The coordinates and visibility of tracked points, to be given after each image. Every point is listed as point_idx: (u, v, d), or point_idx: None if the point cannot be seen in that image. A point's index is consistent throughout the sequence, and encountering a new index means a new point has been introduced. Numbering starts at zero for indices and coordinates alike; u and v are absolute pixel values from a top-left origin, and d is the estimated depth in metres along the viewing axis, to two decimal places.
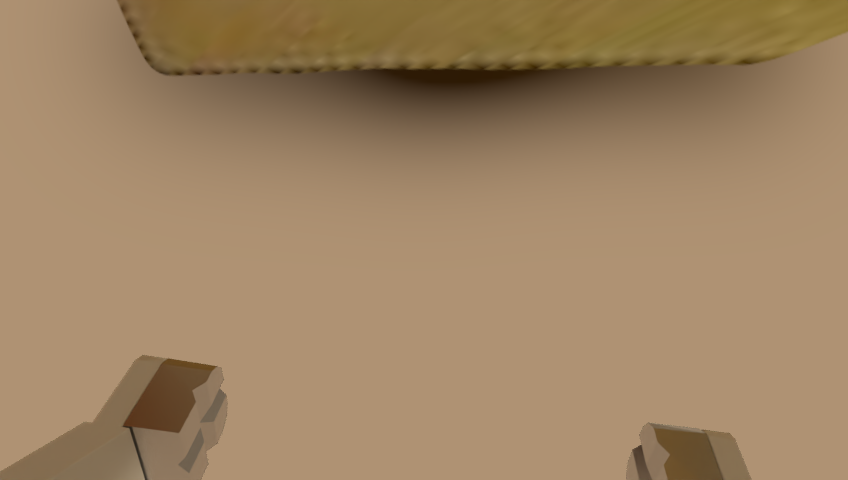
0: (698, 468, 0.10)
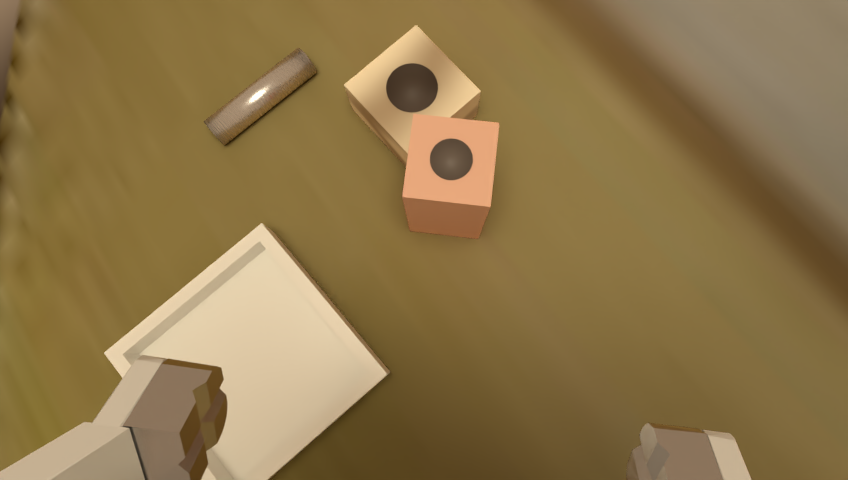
0: (698, 468, 0.10)
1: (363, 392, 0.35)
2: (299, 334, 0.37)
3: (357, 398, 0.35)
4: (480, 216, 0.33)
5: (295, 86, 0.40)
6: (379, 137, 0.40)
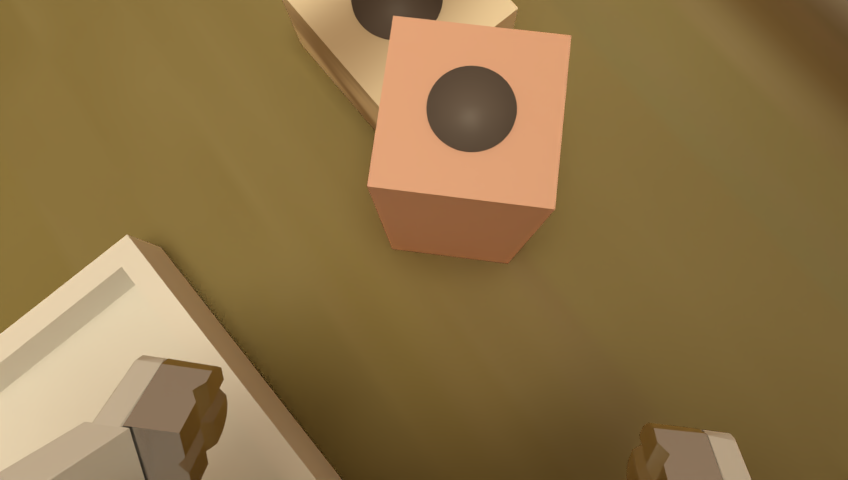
0: (698, 468, 0.10)
1: None
2: None
3: None
4: (525, 228, 0.17)
5: None
6: (342, 90, 0.24)
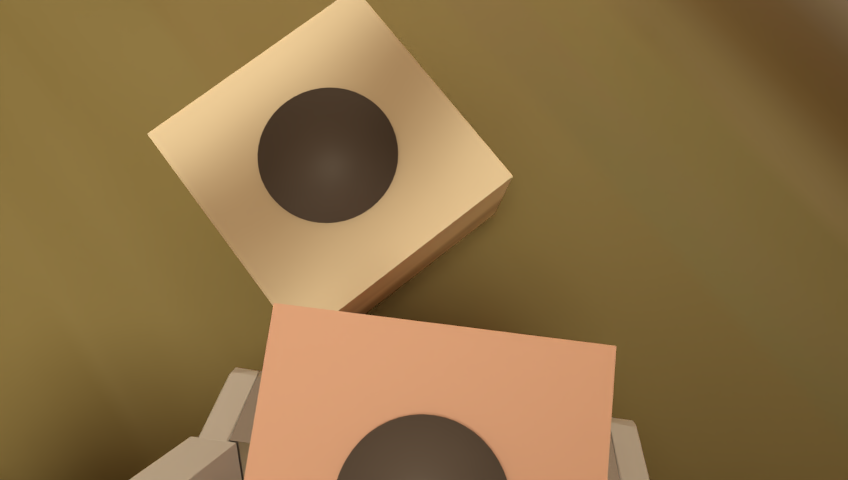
0: None
1: None
2: None
3: None
4: None
5: None
6: None
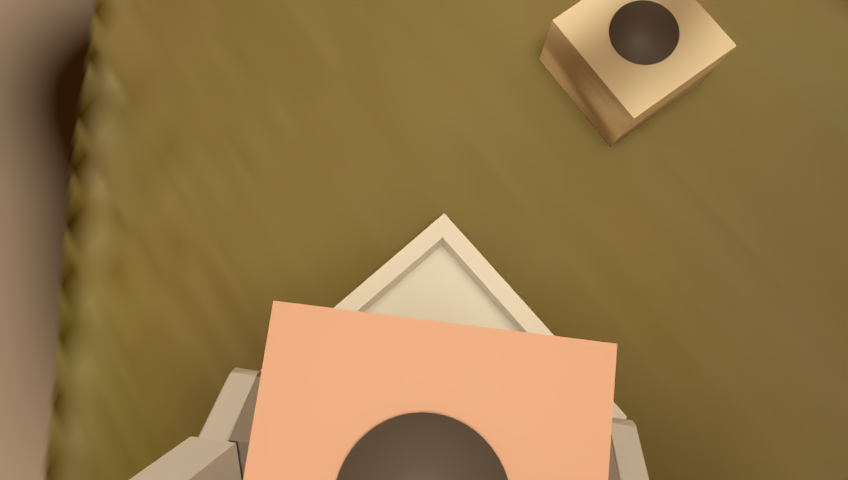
0: None
1: None
2: None
3: None
4: None
5: None
6: (573, 98, 0.31)
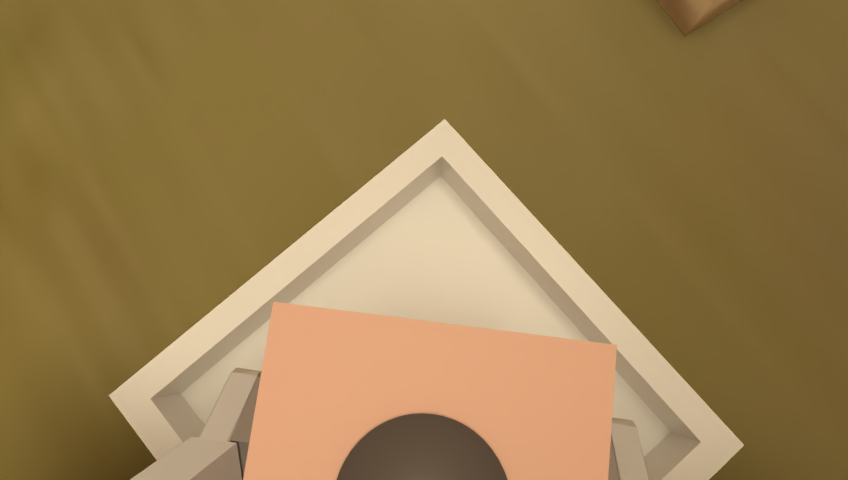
0: None
1: None
2: None
3: None
4: None
5: None
6: None
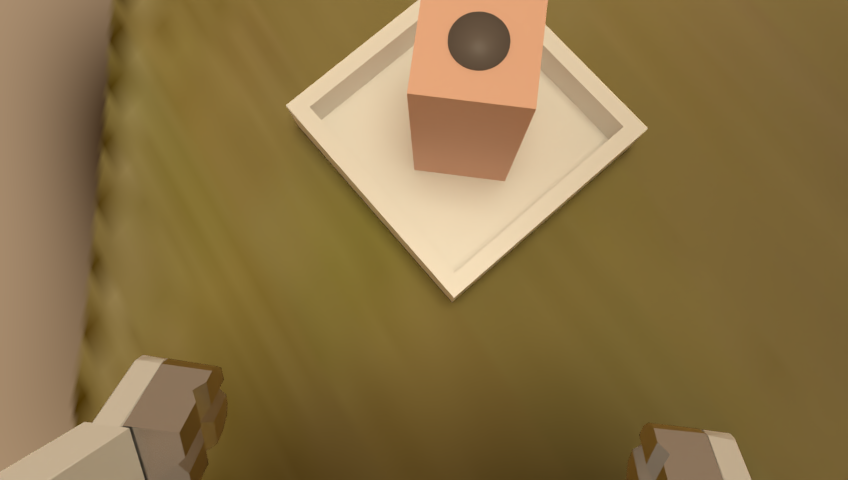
0: (698, 468, 0.10)
1: (619, 150, 0.28)
2: None
3: (612, 157, 0.27)
4: (516, 132, 0.23)
5: None
6: None
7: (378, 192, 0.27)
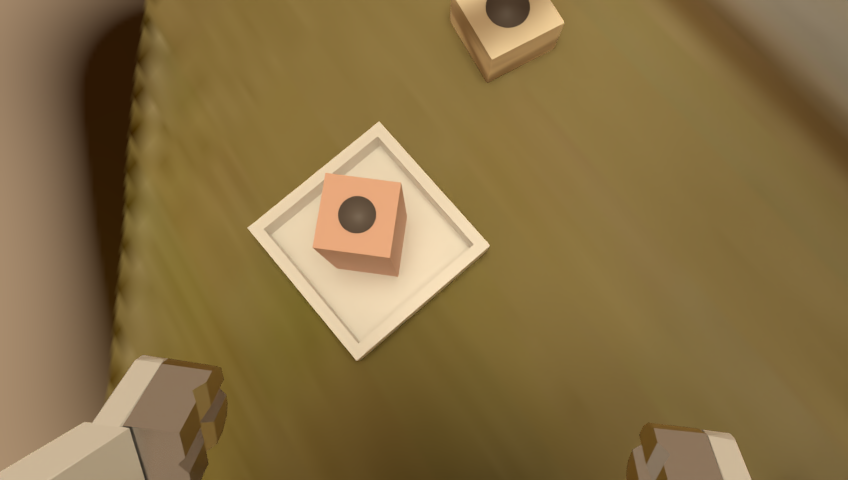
0: (698, 468, 0.10)
1: (470, 260, 0.41)
2: (408, 218, 0.44)
3: (465, 265, 0.41)
4: (387, 263, 0.37)
5: None
6: (467, 48, 0.47)
7: (308, 288, 0.41)
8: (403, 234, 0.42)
